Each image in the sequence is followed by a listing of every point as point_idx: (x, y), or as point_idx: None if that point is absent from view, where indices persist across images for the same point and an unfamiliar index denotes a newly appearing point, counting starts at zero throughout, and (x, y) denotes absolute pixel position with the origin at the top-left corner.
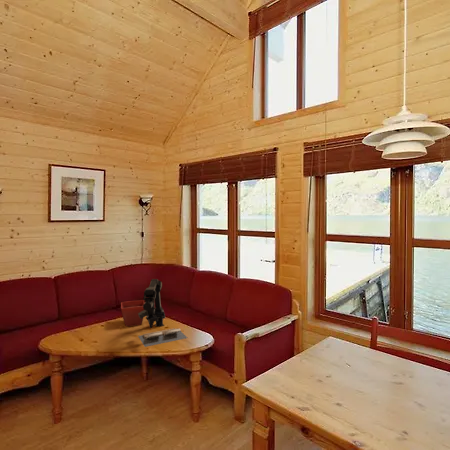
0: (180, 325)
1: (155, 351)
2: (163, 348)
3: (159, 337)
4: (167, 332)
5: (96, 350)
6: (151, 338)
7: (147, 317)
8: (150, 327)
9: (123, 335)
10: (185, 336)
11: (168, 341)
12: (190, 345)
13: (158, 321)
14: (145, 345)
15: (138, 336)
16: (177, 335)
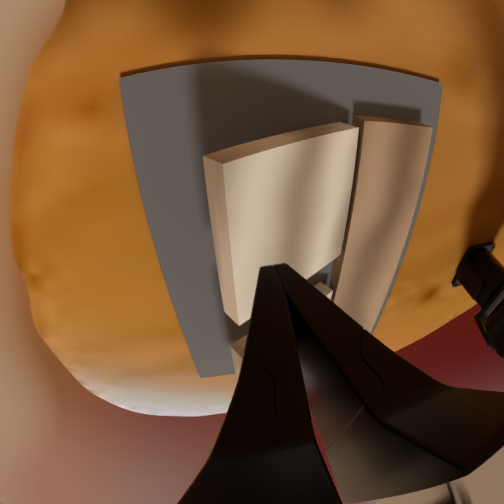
0: (394, 346)
1: (14, 185)
2: (60, 248)
3: None
4: (237, 346)
5: None
6: None
7: (455, 502)
8: (258, 277)
9: (492, 14)
10: (228, 372)
11: (180, 297)
12: (100, 370)
13: (485, 281)
14: (156, 86)
15: (432, 83)
16: None
